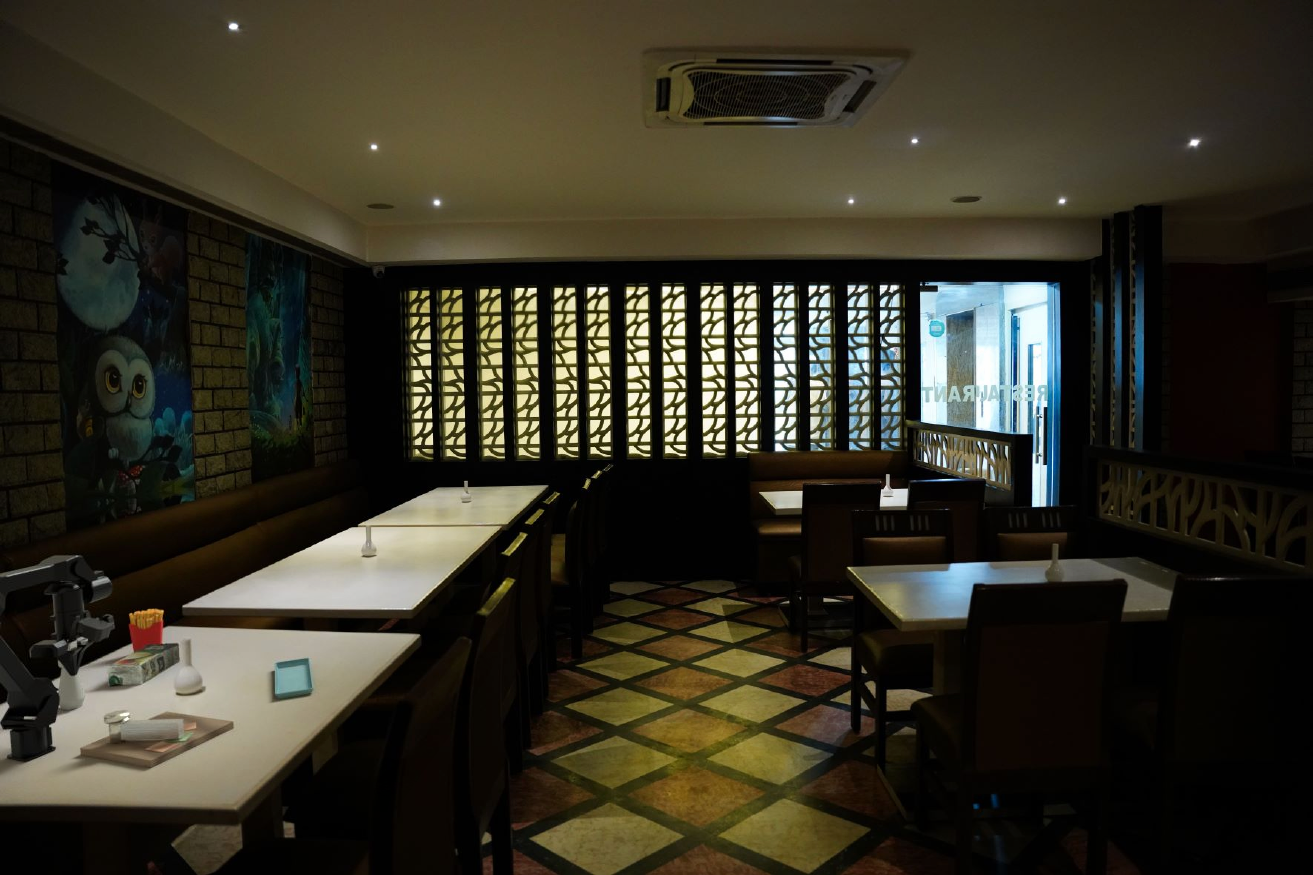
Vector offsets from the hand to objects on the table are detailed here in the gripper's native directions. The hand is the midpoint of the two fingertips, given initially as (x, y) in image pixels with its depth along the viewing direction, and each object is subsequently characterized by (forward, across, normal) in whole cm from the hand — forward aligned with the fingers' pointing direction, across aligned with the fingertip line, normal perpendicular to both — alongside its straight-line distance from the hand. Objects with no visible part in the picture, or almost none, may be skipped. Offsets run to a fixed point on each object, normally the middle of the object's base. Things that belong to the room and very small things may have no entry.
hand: (73, 675), depth 194 cm
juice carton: (+14, +39, +8) cm, 42 cm away
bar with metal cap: (+11, -11, -22) cm, 27 cm away
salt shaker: (+13, +15, +11) cm, 23 cm away
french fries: (+13, +58, +18) cm, 62 cm away
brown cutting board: (+13, -8, -23) cm, 28 cm away
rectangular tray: (+14, +29, -38) cm, 50 cm away
